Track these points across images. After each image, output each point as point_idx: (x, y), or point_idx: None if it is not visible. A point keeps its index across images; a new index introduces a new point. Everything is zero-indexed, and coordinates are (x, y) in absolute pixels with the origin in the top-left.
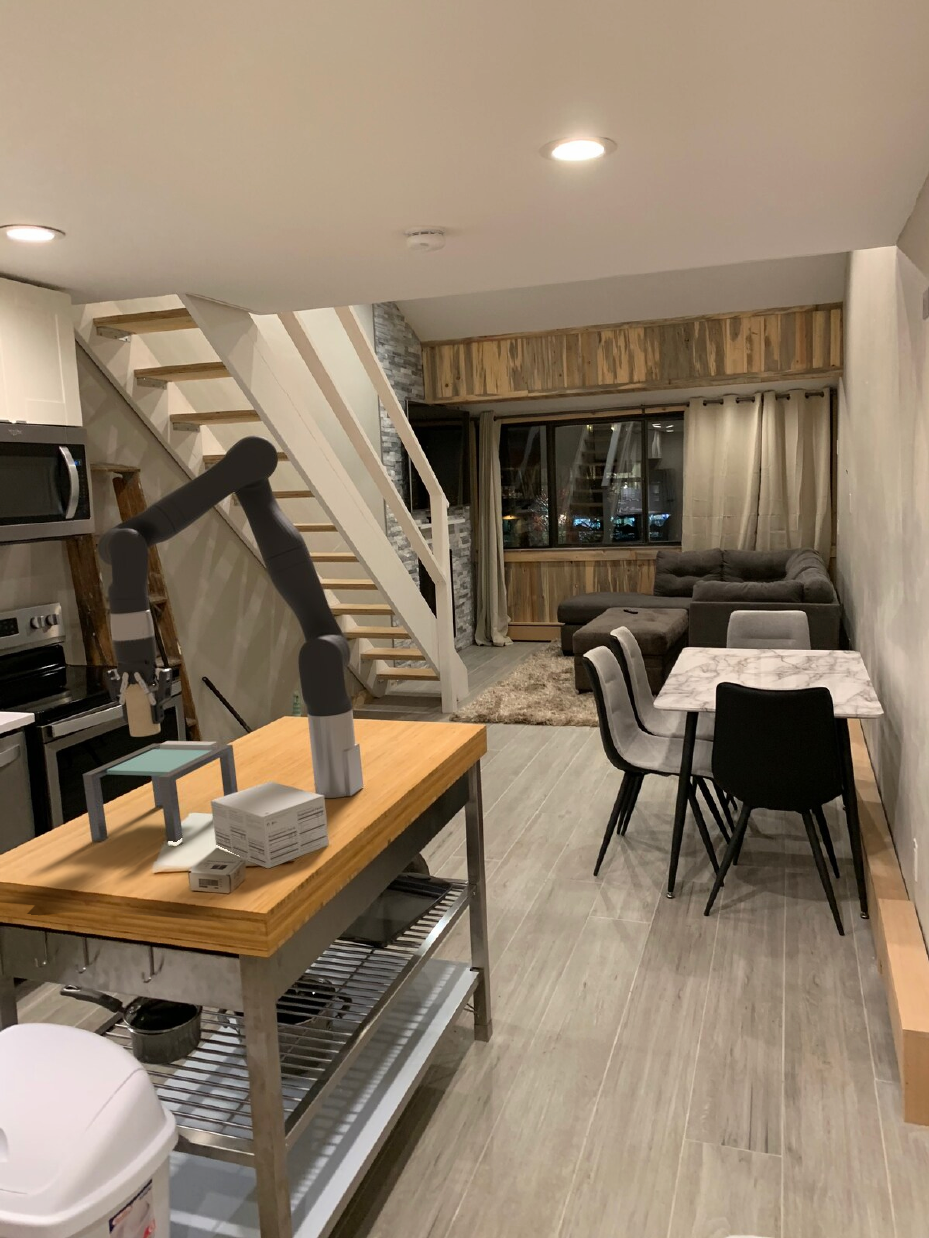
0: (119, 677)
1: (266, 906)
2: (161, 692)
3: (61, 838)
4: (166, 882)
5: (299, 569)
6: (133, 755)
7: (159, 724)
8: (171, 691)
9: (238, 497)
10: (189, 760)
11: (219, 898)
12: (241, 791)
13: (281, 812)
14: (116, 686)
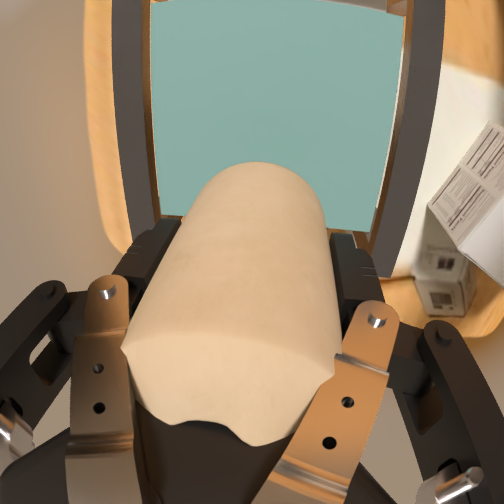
0: (16, 429)
1: (492, 330)
2: (425, 418)
3: (120, 178)
4: (394, 303)
5: None
6: (137, 84)
7: (323, 217)
8: (474, 360)
9: None
10: (382, 124)
11: (456, 324)
12: (501, 205)
13: None
14: (39, 386)
